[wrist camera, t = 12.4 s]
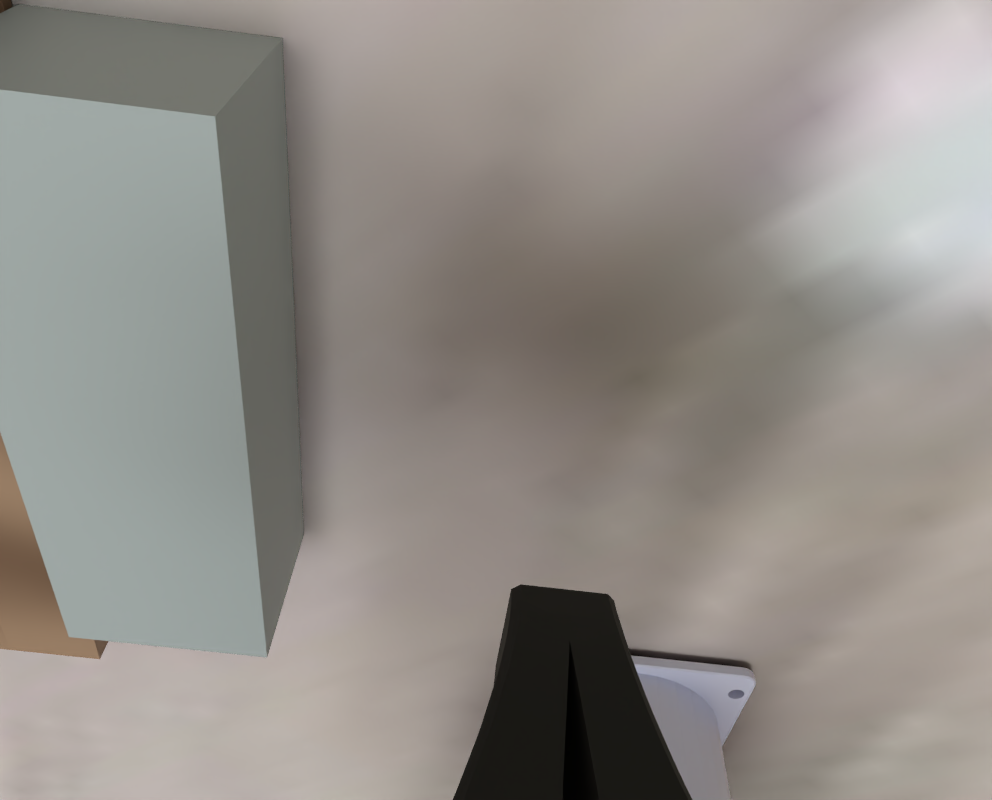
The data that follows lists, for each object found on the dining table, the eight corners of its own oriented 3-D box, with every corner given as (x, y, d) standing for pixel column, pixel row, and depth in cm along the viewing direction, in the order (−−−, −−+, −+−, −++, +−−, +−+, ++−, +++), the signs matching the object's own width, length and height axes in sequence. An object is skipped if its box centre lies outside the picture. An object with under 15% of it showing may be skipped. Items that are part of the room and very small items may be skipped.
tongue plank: (305, 527, 25) (267, 657, 21) (84, 503, 25) (8, 631, 21) (285, 34, 16) (214, 116, 13) (-55, -10, 16) (-222, 61, 13)
